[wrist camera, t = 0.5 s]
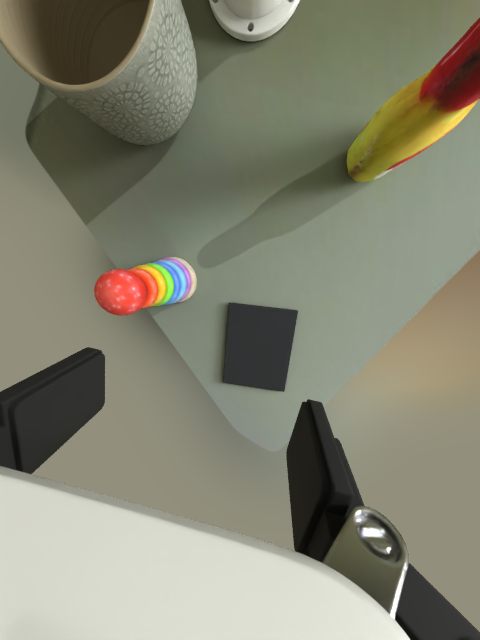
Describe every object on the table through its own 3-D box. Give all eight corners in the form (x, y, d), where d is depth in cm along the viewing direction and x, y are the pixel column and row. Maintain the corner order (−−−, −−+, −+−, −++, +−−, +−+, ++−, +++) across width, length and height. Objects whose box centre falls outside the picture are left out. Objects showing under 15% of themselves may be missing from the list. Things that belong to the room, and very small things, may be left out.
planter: (82, 115, 35) (-51, 15, 20) (128, -14, 30) (-4, -269, 16) (172, 182, 36) (106, 132, 21) (231, 67, 31) (197, -101, 17)
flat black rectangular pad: (229, 302, 40) (229, 303, 40) (297, 310, 39) (297, 311, 39) (223, 380, 45) (222, 382, 44) (284, 390, 44) (284, 391, 43)
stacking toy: (183, 309, 42) (119, 349, 24) (147, 284, 41) (55, 305, 23) (206, 274, 39) (154, 289, 22) (168, 247, 39) (83, 239, 21)
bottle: (421, 102, 30) (696, -177, 11) (434, 151, 31) (703, -20, 12) (332, 153, 32) (424, 6, 13) (348, 196, 34) (453, 118, 15)
